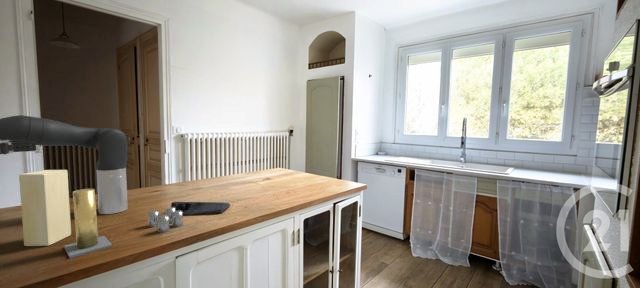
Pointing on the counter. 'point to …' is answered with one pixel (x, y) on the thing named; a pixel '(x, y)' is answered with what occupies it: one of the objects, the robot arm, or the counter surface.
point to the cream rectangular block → (45, 207)
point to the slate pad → (74, 251)
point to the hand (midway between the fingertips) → (34, 145)
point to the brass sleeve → (85, 218)
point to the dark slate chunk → (200, 207)
